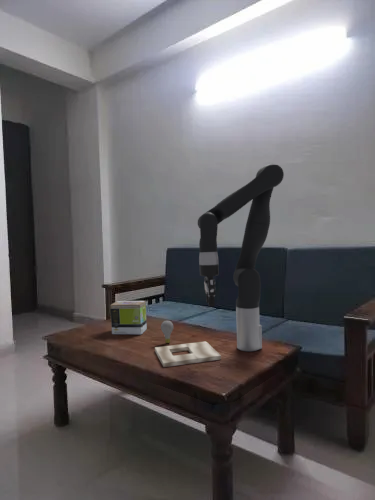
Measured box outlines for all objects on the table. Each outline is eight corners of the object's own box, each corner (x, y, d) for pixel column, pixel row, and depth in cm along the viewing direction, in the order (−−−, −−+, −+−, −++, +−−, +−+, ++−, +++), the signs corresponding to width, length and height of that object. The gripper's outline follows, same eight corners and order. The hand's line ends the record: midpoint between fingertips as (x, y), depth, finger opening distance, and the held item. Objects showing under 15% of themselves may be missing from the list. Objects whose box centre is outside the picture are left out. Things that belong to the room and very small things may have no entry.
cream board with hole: (206, 344, 152) (205, 341, 152) (220, 359, 135) (220, 355, 135) (155, 351, 146) (154, 347, 146) (163, 367, 129) (163, 363, 129)
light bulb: (164, 340, 159) (163, 318, 159) (175, 341, 158) (174, 319, 157) (159, 344, 154) (158, 322, 154) (171, 345, 153) (170, 322, 152)
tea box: (147, 329, 179) (146, 300, 178) (141, 335, 169) (139, 304, 168) (118, 328, 182) (117, 300, 181) (111, 334, 172) (109, 304, 171)
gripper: (220, 264, 134) (222, 307, 134) (215, 262, 149) (217, 301, 149) (201, 264, 134) (202, 308, 134) (197, 263, 148) (199, 302, 148)
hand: (210, 304), depth 141 cm, fingers open, 8 cm apart
